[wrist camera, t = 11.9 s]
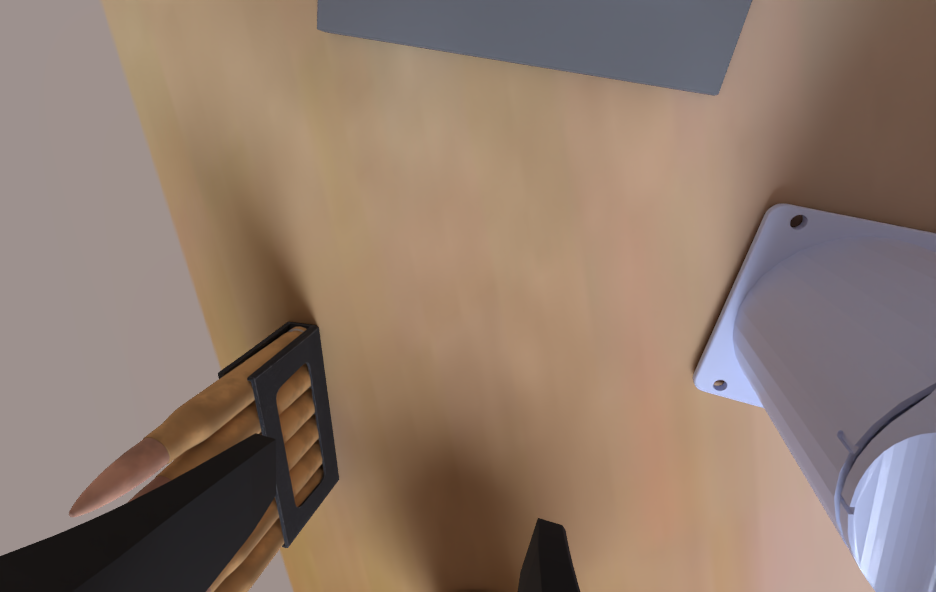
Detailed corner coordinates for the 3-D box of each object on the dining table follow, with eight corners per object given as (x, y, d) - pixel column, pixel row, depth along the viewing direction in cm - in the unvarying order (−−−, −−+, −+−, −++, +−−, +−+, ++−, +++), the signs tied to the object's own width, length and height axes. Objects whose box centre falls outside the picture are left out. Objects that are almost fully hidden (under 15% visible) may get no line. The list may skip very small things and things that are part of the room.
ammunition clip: (288, 320, 24) (36, 485, 13) (318, 324, 23) (83, 497, 13) (313, 474, 28) (135, 698, 17) (339, 480, 27) (174, 714, 17)
